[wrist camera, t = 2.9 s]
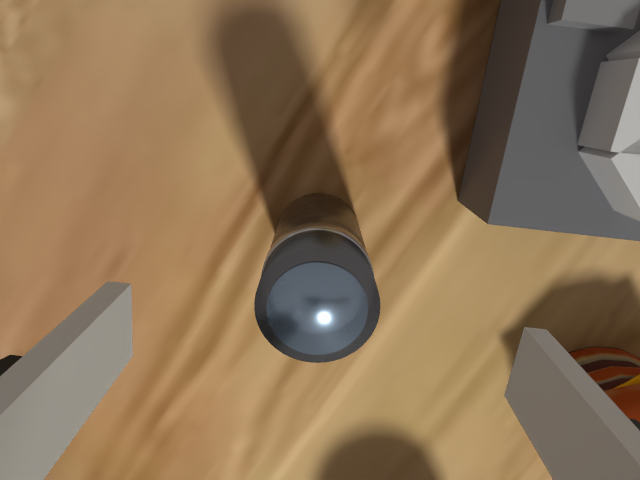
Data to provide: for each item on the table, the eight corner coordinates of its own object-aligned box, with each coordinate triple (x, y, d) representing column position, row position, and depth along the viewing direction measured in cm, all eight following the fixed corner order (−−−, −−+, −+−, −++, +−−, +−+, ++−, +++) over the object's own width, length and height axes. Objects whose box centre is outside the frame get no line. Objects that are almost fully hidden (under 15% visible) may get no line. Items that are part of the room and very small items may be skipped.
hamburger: (627, 317, 29) (712, 379, 23) (671, 421, 32) (758, 503, 26) (494, 381, 31) (540, 455, 24) (547, 476, 33) (601, 565, 27)
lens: (273, 268, 28) (248, 359, 18) (280, 188, 27) (257, 242, 17) (354, 276, 28) (371, 372, 19) (366, 197, 27) (391, 256, 17)
